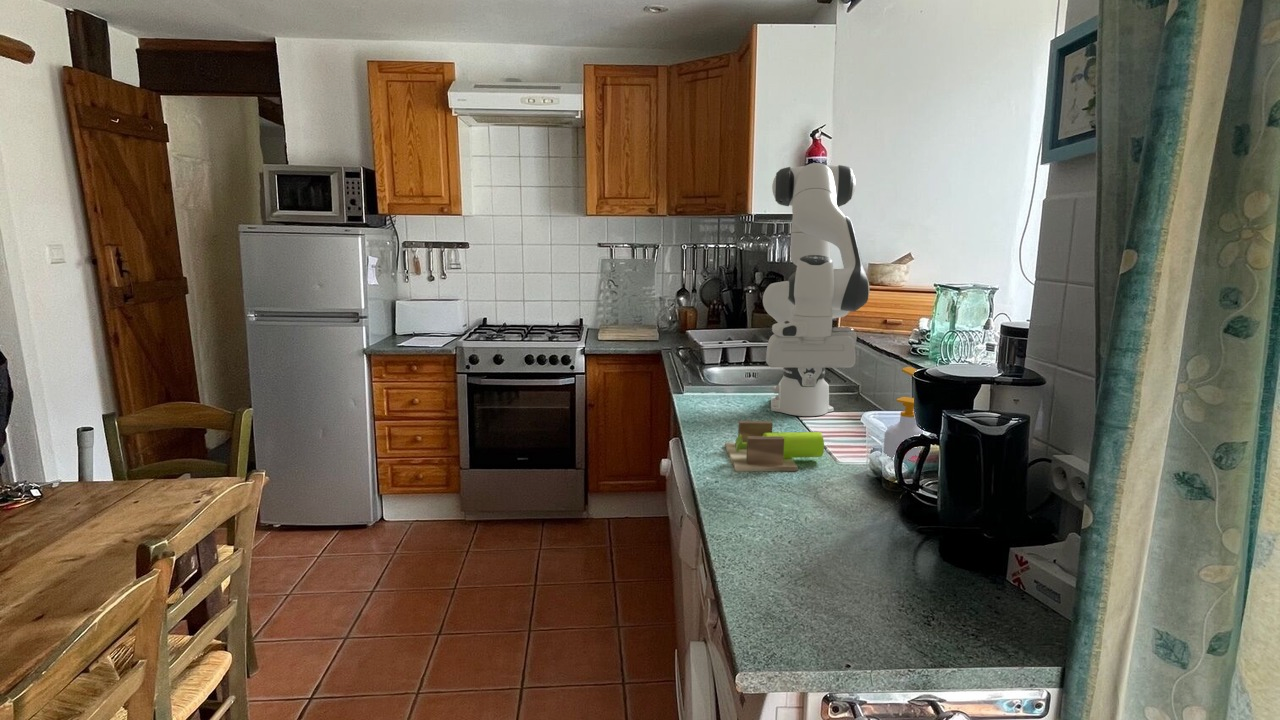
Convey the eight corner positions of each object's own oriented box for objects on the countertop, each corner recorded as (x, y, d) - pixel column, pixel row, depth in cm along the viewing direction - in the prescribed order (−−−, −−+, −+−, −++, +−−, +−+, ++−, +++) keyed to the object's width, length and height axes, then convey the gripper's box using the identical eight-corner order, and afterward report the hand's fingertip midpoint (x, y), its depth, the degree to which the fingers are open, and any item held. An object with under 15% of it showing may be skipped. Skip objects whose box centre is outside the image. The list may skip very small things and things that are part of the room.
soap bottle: (893, 469, 153) (900, 362, 149) (933, 479, 147) (942, 368, 142) (874, 478, 147) (882, 368, 142) (915, 489, 141) (925, 374, 136)
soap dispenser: (827, 447, 153) (740, 449, 152) (819, 461, 159) (735, 463, 157) (821, 424, 157) (736, 426, 155) (814, 439, 162) (731, 441, 161)
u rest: (724, 446, 169) (725, 419, 168) (780, 446, 169) (781, 419, 168) (735, 470, 151) (736, 441, 150) (797, 471, 152) (799, 441, 150)
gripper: (852, 325, 158) (849, 382, 161) (765, 325, 158) (763, 382, 161) (861, 329, 152) (857, 388, 154) (770, 329, 152) (768, 388, 154)
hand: (809, 385), depth 157 cm, fingers closed
